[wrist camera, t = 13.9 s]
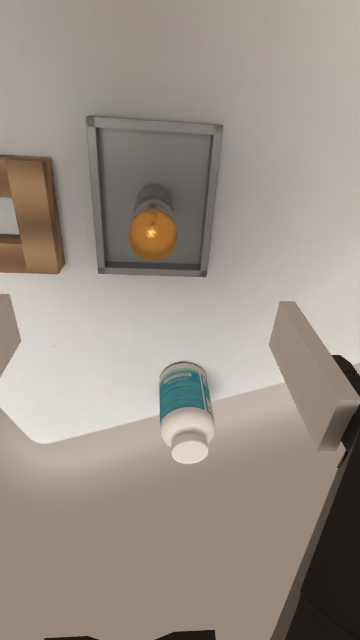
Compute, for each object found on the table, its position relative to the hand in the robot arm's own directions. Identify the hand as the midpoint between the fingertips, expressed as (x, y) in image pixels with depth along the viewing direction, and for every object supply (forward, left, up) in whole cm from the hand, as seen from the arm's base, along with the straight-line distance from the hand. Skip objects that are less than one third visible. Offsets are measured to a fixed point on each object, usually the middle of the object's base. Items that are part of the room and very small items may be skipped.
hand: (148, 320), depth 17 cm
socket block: (+2, -17, -25) cm, 31 cm away
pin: (0, 0, -25) cm, 25 cm away
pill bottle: (+27, +5, -26) cm, 38 cm away
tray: (0, 0, -25) cm, 25 cm away
